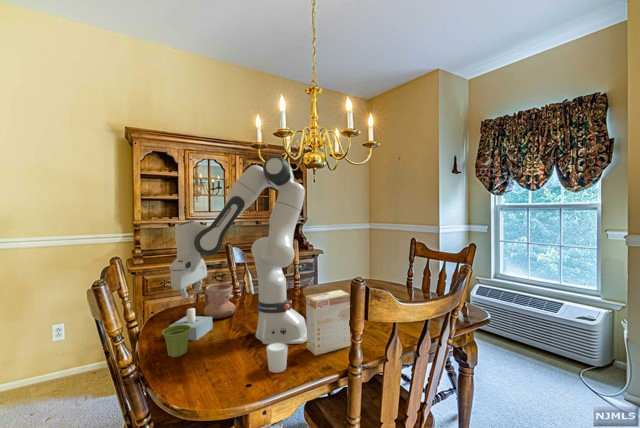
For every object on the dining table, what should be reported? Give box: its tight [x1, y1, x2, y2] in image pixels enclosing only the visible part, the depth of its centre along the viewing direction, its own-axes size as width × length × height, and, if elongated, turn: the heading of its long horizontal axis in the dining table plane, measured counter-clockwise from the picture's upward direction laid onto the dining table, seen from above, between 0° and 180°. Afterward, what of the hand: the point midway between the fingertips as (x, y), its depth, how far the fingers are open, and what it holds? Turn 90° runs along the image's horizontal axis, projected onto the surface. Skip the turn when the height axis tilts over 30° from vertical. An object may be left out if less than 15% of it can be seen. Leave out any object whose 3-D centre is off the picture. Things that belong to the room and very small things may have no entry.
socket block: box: [168, 315, 214, 341], centre depth 129 cm, size 12×12×5 cm
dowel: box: [186, 307, 196, 324], centre depth 129 cm, size 3×3×10 cm
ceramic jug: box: [203, 283, 237, 320], centre depth 150 cm, size 18×14×14 cm
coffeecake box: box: [305, 289, 352, 356], centre depth 115 cm, size 15×7×20 cm, turn 118°
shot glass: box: [266, 342, 289, 374], centre depth 101 cm, size 7×7×7 cm
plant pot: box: [161, 325, 191, 358], centre depth 112 cm, size 9×9×9 cm
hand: (192, 294), depth 129 cm, fingers open, 8 cm apart
